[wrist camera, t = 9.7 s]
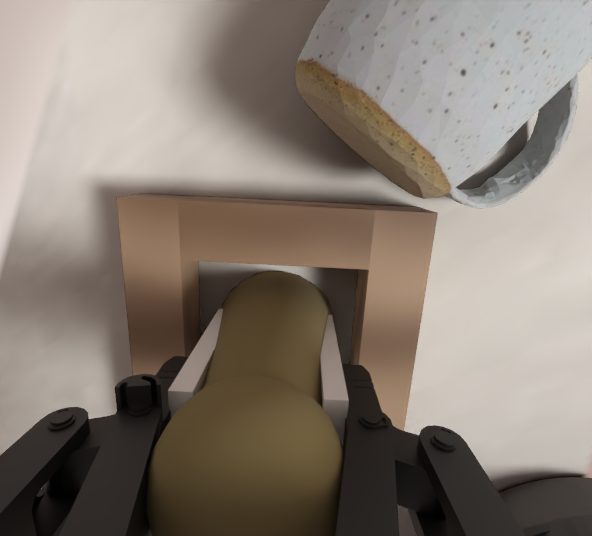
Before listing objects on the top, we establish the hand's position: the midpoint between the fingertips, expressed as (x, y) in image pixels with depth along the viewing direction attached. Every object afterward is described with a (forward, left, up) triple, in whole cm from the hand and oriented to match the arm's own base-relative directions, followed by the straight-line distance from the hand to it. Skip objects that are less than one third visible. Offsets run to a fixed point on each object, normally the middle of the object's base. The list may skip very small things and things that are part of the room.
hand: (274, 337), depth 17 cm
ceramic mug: (+12, -7, -2) cm, 13 cm away
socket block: (0, 0, -1) cm, 1 cm away
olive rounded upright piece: (0, 0, -1) cm, 1 cm away
